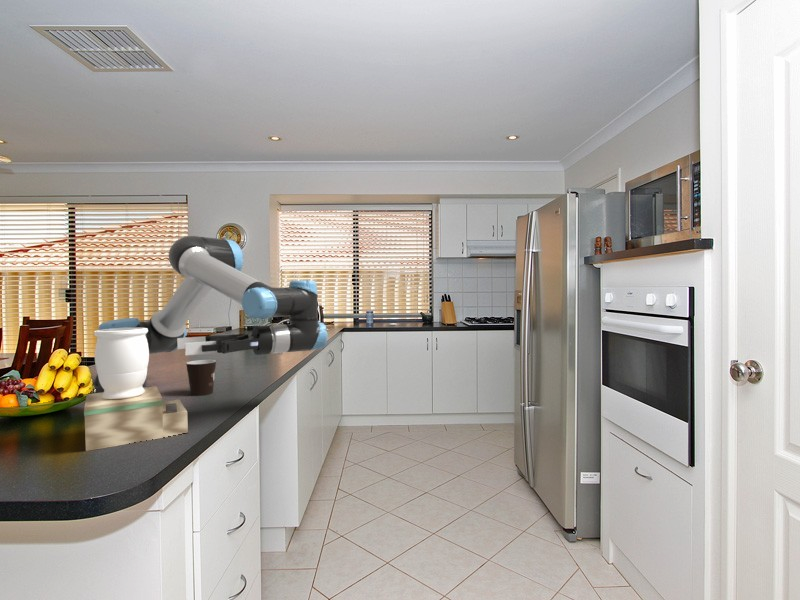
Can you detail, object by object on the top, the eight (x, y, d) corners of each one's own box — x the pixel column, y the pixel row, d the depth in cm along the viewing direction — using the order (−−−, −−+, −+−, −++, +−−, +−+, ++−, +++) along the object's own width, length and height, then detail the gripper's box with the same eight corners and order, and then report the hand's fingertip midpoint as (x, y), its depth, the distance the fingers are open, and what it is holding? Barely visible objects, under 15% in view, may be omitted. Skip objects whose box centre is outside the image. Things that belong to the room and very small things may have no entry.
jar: (101, 393, 104) (98, 328, 103) (152, 388, 108) (150, 326, 108) (91, 403, 94) (89, 332, 94) (147, 397, 98) (145, 329, 98)
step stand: (179, 418, 114) (178, 383, 113) (187, 433, 102) (186, 394, 101) (87, 433, 103) (86, 394, 103) (85, 451, 91) (83, 407, 91)
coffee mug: (205, 397, 137) (204, 364, 136) (180, 396, 138) (180, 363, 138) (227, 388, 148) (227, 358, 148) (204, 387, 150) (203, 358, 149)
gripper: (285, 359, 108) (189, 369, 97) (256, 348, 129) (175, 355, 118) (284, 328, 108) (188, 334, 97) (256, 323, 129) (174, 327, 117)
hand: (181, 346), depth 107 cm, fingers open, 13 cm apart
